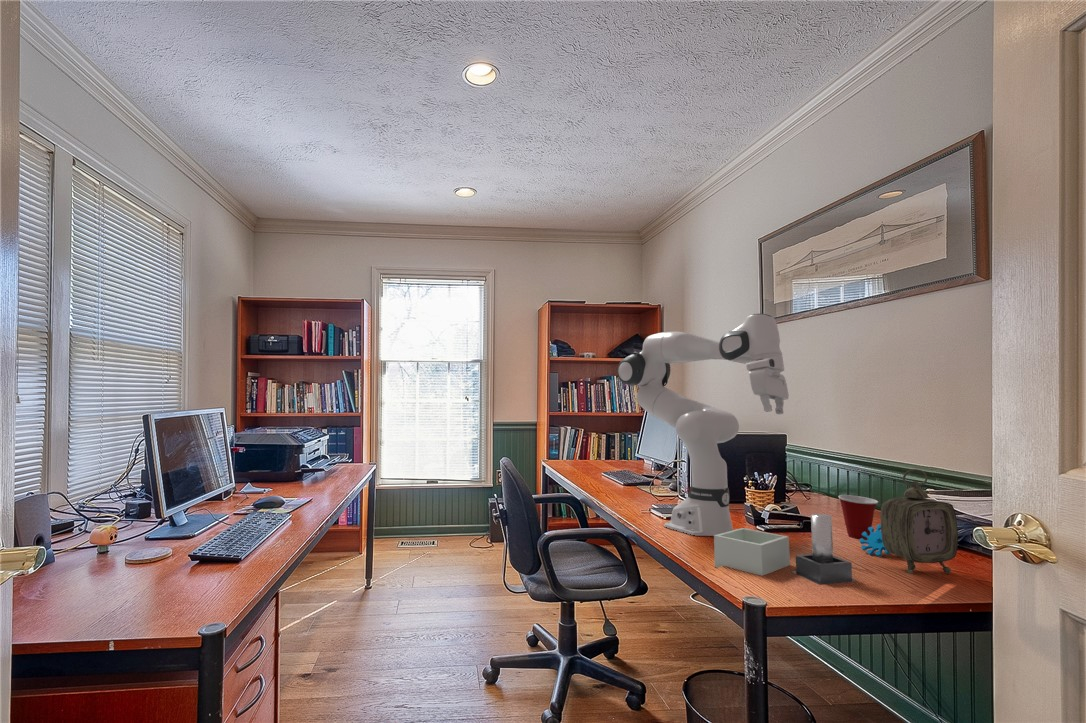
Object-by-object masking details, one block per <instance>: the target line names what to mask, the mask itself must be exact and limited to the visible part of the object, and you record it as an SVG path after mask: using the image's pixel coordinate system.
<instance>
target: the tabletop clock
mask: <svg viewBox="0 0 1086 723" xmlns="http://www.w3.org/2000/svg"><path fill="white" fill-rule="evenodd" d="M911 473H920V474H922V475H923V476H924V479H925V480H924V481H923V482H918V481H917V480H913V481H912V483H910V482H908V481H906V477H907V476H908V474H911ZM902 481H903V483H904V485H906V486H908V488H907V489H906V490H905V491H904V493H903V496H900V497H893V498H889V499H887V500H886V501H884V502H882V503H881V507H880V525H881V530H880V531H881V534H882V541H883V545H884V547H885V549H886V550H887V552H889V553H891V554H892V555H894V556H896V557H900V558H903V559H905V561H906V562H907V564H906V565H907V569H906V570H905V574H908V575H913V574H914V572H913V571H914V570H916V568H917V566H916V565H915V563H918V564H919V563H920V564H936V563H937V564H939V565H941V567H942V572H943V573H944V574H947V575H948V574H950V573H951V572H952V569H951V568H950V567H949V566H946V565H945V564H944V562H948V561H951V560H953V559H954V558H955V557H956V556H957V553H958V548H959V547H958V546H959V545H958V544H959V540H958V539H959V531H958V529H959V528H958V522H957V521H958V520H957V515H956V510H955V507H954V505H953V504H951V503H949V502H945V501H940V500H935V499H931V498H930V497H929V495H928V493H927V492H926V491H925V490H924V489H923V488H920V487H922V486H924V485H925V484H926V483H927V481H928V476H927V473H926V472H925V471H923V470H921V469H917V468H916V469H909V470H907V471H906V472H904V474H903V475H902ZM909 487H910V488H909ZM929 498H930V499H929ZM891 554H890V555H891Z"/></svg>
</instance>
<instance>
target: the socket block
mask: <svg viewBox="0 0 1086 723" xmlns="http://www.w3.org/2000/svg"><path fill="white" fill-rule="evenodd" d="M852 564H853V563H852V561H849V560H846V559H843V558H842V557H841V558H840V557H838V556H836V555H833V563H822V564H820V563H818V562H815V561H813V556H812V553H807V554H795V571H794V570H793V571H792V570H791V573H793V574H795V575H798V576H800V577H801V578H804V579H806V580H809V581H811V582H813V583H814V584H817V585H820V586H822V585H823V586H824V585H830V584H831V585H832V584H842V583H843V584H844V583H853V582H858V580H856V579H854V578H853V569H852V568H853V567H852Z"/></svg>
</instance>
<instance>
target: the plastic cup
mask: <svg viewBox="0 0 1086 723" xmlns="http://www.w3.org/2000/svg"><path fill="white" fill-rule="evenodd" d="M837 497H838V499H839V501H840V505H841V506H840V507H841V509H842V514H843V519H844V523H845V524H844V525H845V526H846V527H845V528H846V532H847V535H848V537H849V538H852V539H857V540H858V539H859V540H860V539H861V538H863V539H864V540H868V538H866V537H863V535H862V533H863V532H866V533H867V534H868V536H869V535H870V531H869V530H868V528H869V527H873V521H874V520H873V519H874V515H875V509H876V506H877V504H878V503H879V501H878V500H876V499H874V498H870V497H865V496H859V495H850V494H841V495H840V494H839V495H838V496H837Z"/></svg>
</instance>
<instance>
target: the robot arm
mask: <svg viewBox="0 0 1086 723" xmlns="http://www.w3.org/2000/svg"><path fill="white" fill-rule="evenodd" d="M780 337H781V336H780V333H779V329H778V324H777V321H776V319H775V317H774V316H772V315H770V314H767V313H753V314H749V315H748V316H747V317H746V318H745V320H744V321H743V322H742V323H741V324H740V325H739V326H737V327H735V328H734V329H732V330H729V331H727V332H725V333H724V334H723V335H722V336H721V337H720V339H719V340H713V339H709V338H705V337H702V336H699V335H696V334H693V333H689V332H683V331H677V330H676V331H664V332H663V331H662V332H657V333H654V334H650V335H648V336H646V338H645V339H644V341H643V343H642V348H641V349H642V350H641V351H640V352H639V351H634V352H632V353H631V354H629V355H628V356H626V357H625V358H623V359H621V360H620V362H619V363H618V366H617V368H616V369H617V371H616V373H617V377H618V379H619V381H620V382H621V383H623V384H624V385H626V386H631V387H632V386H633V387H635V386H637V387H638V391H637V393H636V403H637V404H638V405H639V406H640V407H641V408H642V409H643V410H644V411H645V412H647V413H648V414H649V415H651V416H652V417H654V418H656V419H658V420H659V421H662V422H663V423H665V424H667V425H669V426H670V427H672V428H675V432H676V435H677V437H678V438H679V439H680V441H681V442H682V443H683V444H684V445H685V447H686V448H685V449H686V450H687V453H688V456H689V460H690V466H691V467H690V468H691V486H690V487H687V488H685V491H684V493H687V492H688V494H687V497H686V498H685V499H683V500H682V501H681V502H679V503H678V504H676V506H674V507H673V509H672V512H671V517H670V520H669V521H666V522H665V523H664V527H665V528H666V527H667V529H670V530H673V529H674V531H676V530H677V532H679V533H680V532H681V533H683V532H684V534H686V533H687V535H690V534H691V535H690V536H693V535H695V537H697V536H699V537H700V536H707V537H709V536H710V537H711V536H712V537H714V535H718V534H721V533H725V532H729V531H732V530H734V527H733V523H732V520H731V519H732V518H731V513H730V506H729V505H730V489H729V487H728V465H727V462H726V460H725V459H724V458H722V455H721V452H720V451H719V446H718V444H721V443H726V442H728V441H730V440H732V439H734V438H735V437H736V436H737V435H738V432H739V427H740V425H739V420H738V419H737V417H736V416H735V415H734V414H732V413H731V412H728V411H725V410H723V409H720V408H717V407H715V406H711V405H709V404H706V403H703V402H700V401H696V400H694V399H691V398H688V397H685V396H684V395H682V394H679V393H677V392H676V391H674V390H672V389H669V388H667V387H666V385H668V382H669V378H670V375H671V364H683V363H691V362H697V361H698V362H699V361H706V360H707V361H708V360H727V361H728V362H732V363H739V364H744V365H746V370H747V371H748V372H749V374H748V375H749V376H748V377H749V381H750V386H751V391H752V393H753V394H754V395H755V396H758V397H759V398H760V401H761V404H762V406H763V412H765V413H769V412H772V411H773V407H772V405H771V402H770V399H771V400H774V403H775V414H776V415H783V414H784V403H785V402H784V401H785V400H786V401H787V400H789V390H788V389H789V388H788V384H787V381H786V380H787V379H786V377H785V376H784V374H781V373H782V372H784V371H785V364H784V359H783V358H784V357H783V353H782V350H781V348H780V342H781V338H780Z"/></svg>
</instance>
